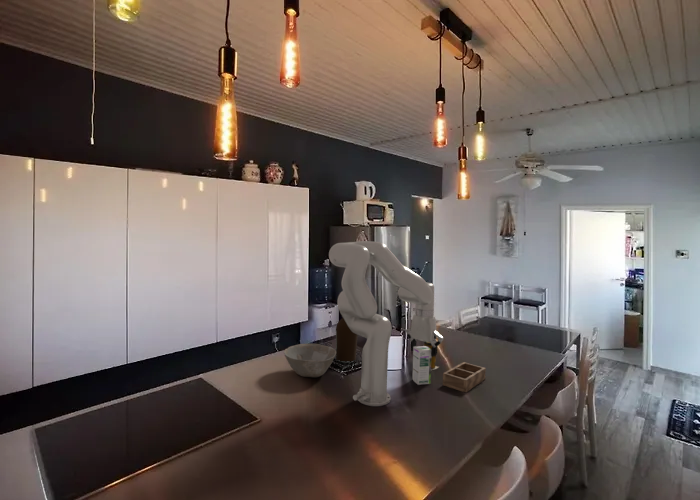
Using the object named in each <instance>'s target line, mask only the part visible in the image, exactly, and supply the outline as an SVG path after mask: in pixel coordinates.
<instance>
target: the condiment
mask: <svg viewBox="0 0 700 500" xmlns="http://www.w3.org/2000/svg"><path fill="white" fill-rule="evenodd" d="M423 343H424V344H423V346H427V347H429V348H430V349H431V347H433V346H432V344H431V343H430V342H425V341H423ZM436 359H437V355H436V356H434V357H432V356H431V371H433V370H437V369H439V368H440V366H437V365H436Z"/></svg>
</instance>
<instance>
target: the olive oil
mask: <svg viewBox="0 0 700 500" xmlns="http://www.w3.org/2000/svg"><path fill="white" fill-rule="evenodd" d="M358 336H359V335H357V334H355V333H353V332H352V331H351V330H350V328H349V327H348V325H347V323H346V322H345V320H344V318H343V317H342V318H340V320H339V321H338V322H337V323H336V327H335V350H336V355H335V359H337V360H340V361H353V360H357V349H358V348H357V346H358V338H359V337H358Z"/></svg>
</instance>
